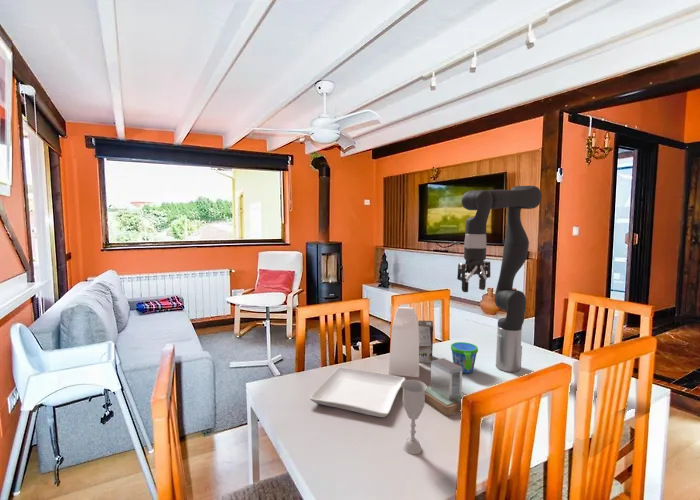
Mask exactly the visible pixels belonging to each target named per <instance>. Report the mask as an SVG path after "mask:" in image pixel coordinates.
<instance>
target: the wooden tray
mask: <svg viewBox="0 0 700 500" xmlns="http://www.w3.org/2000/svg"><path fill="white" fill-rule="evenodd" d="M464 395H468V394H466V393H465V392H463V391H462V392H461V397H459V398H456V399H452V400H447V399H446V398H444V397H442V396H441V395H439V394H437V393H436V392H434V391H433V390H431V385H428V386H427V388H426V390H425V403H426V405H427V404H428V406H430V407H431V408H434V410H436V411H438V412H439V413H440V414H442V415H443V416H445V417H446V418H447V417H449V416H451V415H452V416H453V415H454V414H458V413H461V412H460V410H461V399H462V397H463V396H464Z"/></svg>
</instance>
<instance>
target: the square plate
mask: <svg viewBox="0 0 700 500" xmlns="http://www.w3.org/2000/svg"><path fill="white" fill-rule="evenodd" d="M403 381H406V378H405V376H399V375H389V373H381V372H377V371H370V370H363V369H357V368H350V367H349V368H348V367H343V366H339V367H337V368H336V369H335V370H334V371H333V372H332V373H331V375H329V376H328V377H327V379H326V380H324V382H323V383H322V384H321V385H320V386H319V387H318V388H317V389H316V390H315V391H313V393H312V394H311V395H310V396H309V400H310V401H312V403H313V402H314V403H315V404H318V405H322V406H327V407H331V408H338V409H341V410H347V411H351V412H356V413H359V414H364V415H367V416H374V417H379V418H385V417H386V416H388V415H390V412H391V410H392V408H393V404H394V402H395V399H396V398H397V395H398V393H399V392H400V390H401V388H402V386H401V384H402V382H403Z"/></svg>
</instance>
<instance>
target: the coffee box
mask: <svg viewBox="0 0 700 500" xmlns="http://www.w3.org/2000/svg"><path fill="white" fill-rule="evenodd" d="M433 322H434V321H433V320H418V324H419V363H424V364H427V363H428V364H431V361H433V349H434V348H433V347H434V345H433V344H434V343H433V342H434V323H433Z"/></svg>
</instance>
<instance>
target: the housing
mask: <svg viewBox="0 0 700 500" xmlns="http://www.w3.org/2000/svg"><path fill="white" fill-rule="evenodd" d="M430 386H431V390H433V391H434V392H436V393H437V394H439V395H441V396H442V397H444V398H446V399H447V400H452V399H456V398H459V397H461V392H463V391H462V390H463V389H462V386H463V373H462V367H461V366H459V365H457V364H455V363H453V361H451V360H449V359H446V358H444V357H443V358H437V359H432V361H431V363H430Z"/></svg>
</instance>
